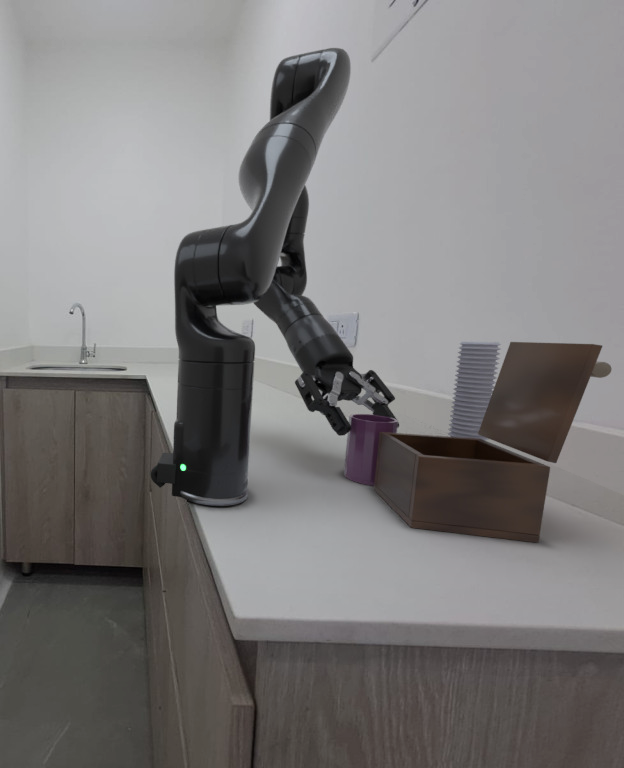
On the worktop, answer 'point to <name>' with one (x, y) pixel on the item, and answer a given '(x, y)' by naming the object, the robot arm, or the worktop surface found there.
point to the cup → (365, 445)
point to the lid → (540, 395)
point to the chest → (461, 485)
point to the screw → (473, 387)
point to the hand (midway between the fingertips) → (370, 431)
